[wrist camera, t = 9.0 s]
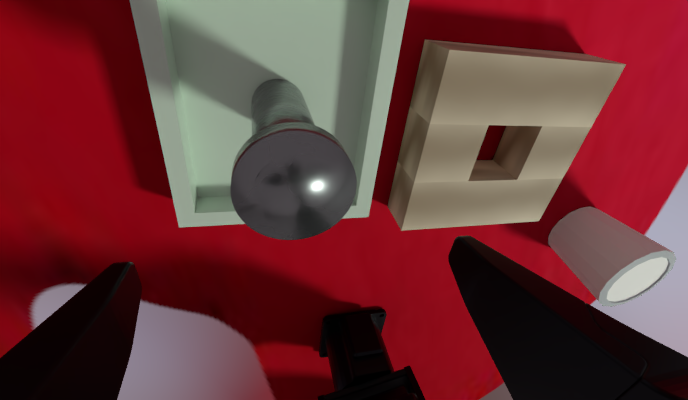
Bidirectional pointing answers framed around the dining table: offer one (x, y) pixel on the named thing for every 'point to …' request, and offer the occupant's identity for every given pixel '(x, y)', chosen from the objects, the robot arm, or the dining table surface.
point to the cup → (609, 255)
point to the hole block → (471, 126)
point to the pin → (290, 168)
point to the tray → (254, 69)
